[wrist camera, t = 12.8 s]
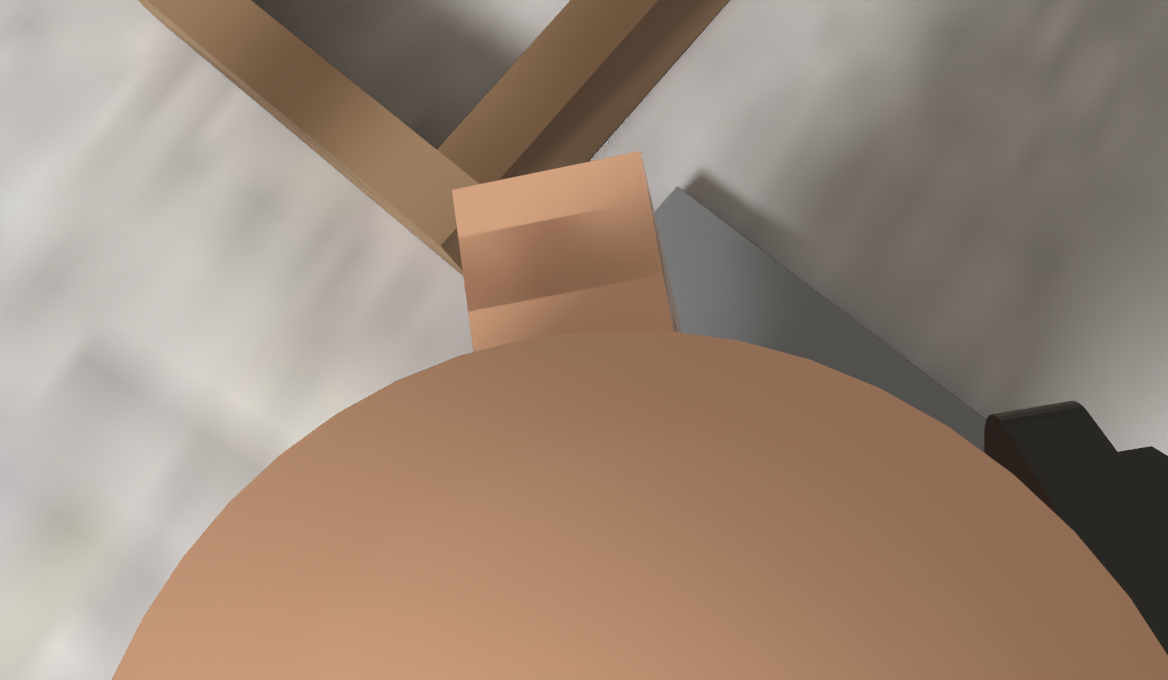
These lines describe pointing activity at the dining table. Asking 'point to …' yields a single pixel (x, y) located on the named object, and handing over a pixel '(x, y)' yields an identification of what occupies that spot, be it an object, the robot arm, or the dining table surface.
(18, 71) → the dining table surface
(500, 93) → the walnut collar
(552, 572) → the peach column
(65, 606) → the dining table surface
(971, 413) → the slate mat
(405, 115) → the dining table surface
